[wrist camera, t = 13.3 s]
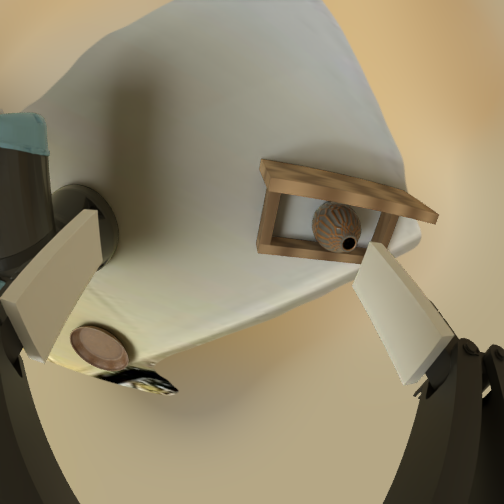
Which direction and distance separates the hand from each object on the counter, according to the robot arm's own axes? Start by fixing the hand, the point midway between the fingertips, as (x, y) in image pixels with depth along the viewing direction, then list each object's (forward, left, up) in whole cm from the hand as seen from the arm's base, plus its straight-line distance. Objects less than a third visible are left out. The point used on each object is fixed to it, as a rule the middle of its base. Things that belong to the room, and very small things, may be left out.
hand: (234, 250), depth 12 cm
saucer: (-25, -43, -27) cm, 57 cm away
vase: (+16, -8, -27) cm, 32 cm away
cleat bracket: (+16, -7, -27) cm, 32 cm away
